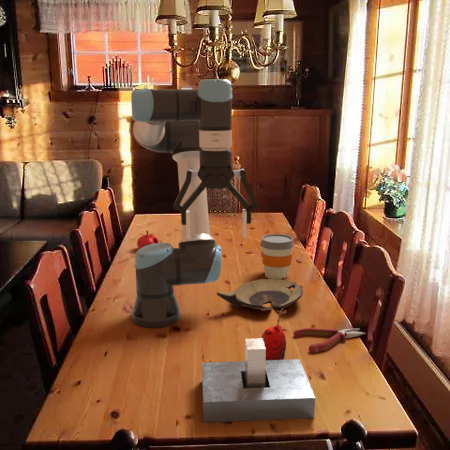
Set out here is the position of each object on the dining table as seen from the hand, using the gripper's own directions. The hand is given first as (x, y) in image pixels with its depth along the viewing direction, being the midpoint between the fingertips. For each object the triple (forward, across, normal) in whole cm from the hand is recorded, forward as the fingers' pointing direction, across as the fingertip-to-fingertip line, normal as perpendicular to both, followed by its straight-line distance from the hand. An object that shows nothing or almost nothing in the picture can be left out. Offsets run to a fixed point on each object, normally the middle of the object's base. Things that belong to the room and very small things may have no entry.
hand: (216, 237), depth 119 cm
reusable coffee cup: (+35, +26, +65) cm, 78 cm away
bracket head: (+35, +8, -15) cm, 39 cm away
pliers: (+35, +33, +10) cm, 49 cm away
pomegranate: (+35, -27, +101) cm, 110 cm away
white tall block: (+35, +8, -15) cm, 39 cm away
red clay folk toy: (+35, +15, +3) cm, 38 cm away
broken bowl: (+35, +16, +38) cm, 54 cm away
